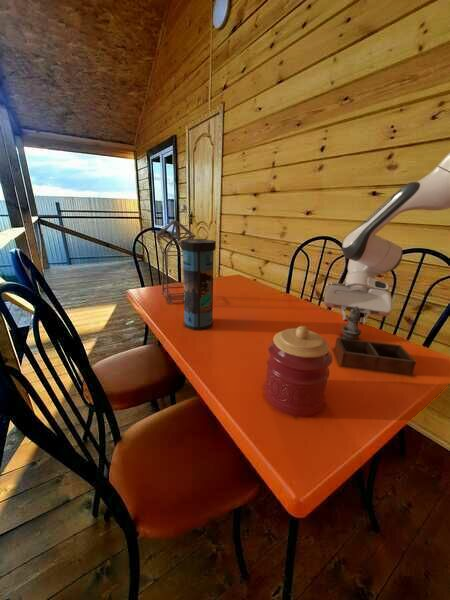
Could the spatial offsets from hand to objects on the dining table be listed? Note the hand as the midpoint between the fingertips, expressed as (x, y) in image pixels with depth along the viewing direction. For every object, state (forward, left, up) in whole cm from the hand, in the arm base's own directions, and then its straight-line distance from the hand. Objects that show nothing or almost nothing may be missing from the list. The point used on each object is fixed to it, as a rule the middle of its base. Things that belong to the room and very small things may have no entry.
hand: (353, 322), depth 83 cm
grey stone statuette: (0, -1, -7) cm, 7 cm away
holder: (-2, +13, -7) cm, 15 cm away
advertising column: (+52, +2, -7) cm, 52 cm away
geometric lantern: (+69, -20, -7) cm, 72 cm away
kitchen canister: (+20, +33, -7) cm, 39 cm away
